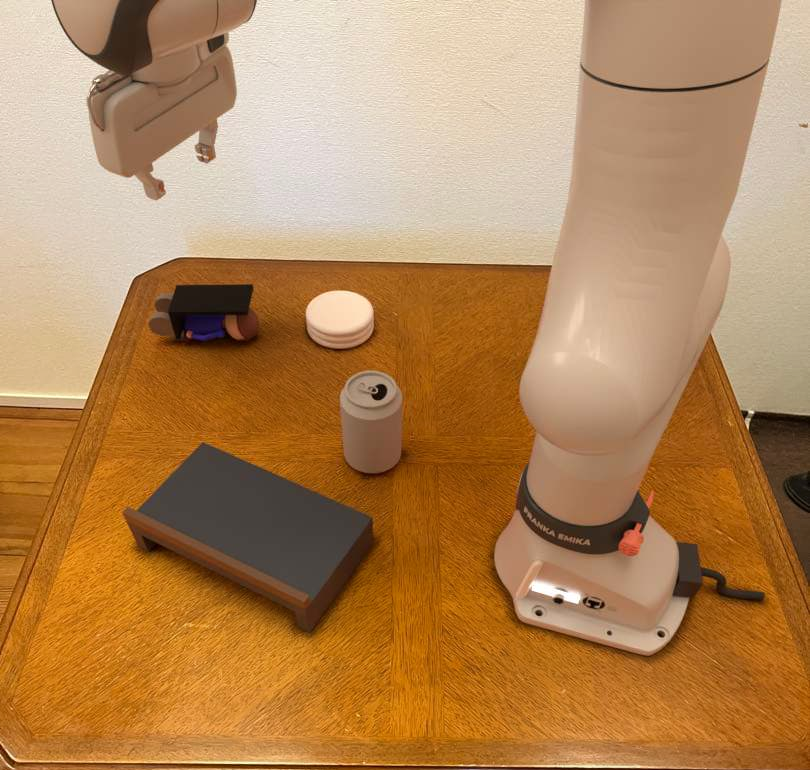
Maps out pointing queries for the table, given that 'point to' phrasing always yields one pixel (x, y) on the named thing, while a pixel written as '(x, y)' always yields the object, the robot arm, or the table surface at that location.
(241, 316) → the figurine character
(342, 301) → the coaster
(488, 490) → the table surface
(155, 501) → the shelf
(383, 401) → the can
